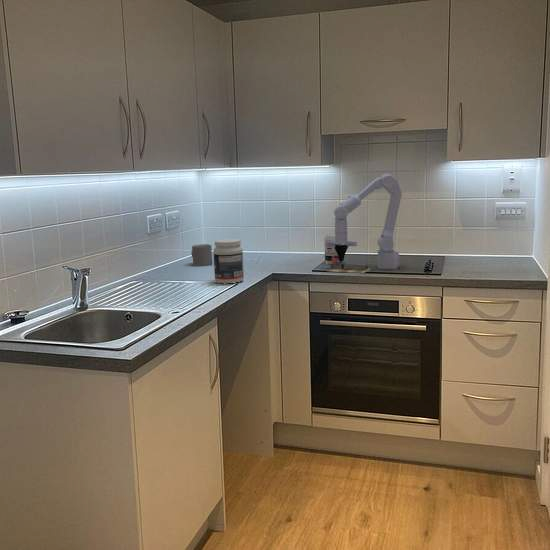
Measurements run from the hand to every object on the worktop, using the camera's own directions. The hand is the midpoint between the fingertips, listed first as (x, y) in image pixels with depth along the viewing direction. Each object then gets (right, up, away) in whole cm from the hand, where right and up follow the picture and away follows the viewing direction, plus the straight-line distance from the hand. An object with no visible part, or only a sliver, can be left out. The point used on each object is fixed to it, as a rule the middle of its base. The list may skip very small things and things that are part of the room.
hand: (341, 261), depth 290 cm
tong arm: (+5, -3, -2) cm, 6 cm away
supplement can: (-2, -2, +16) cm, 17 cm away
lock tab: (-3, -1, +2) cm, 3 cm away
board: (+3, -5, -3) cm, 7 cm away
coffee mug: (-69, -1, +34) cm, 77 cm away
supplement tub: (-51, -10, -15) cm, 54 cm away
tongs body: (+3, -4, -1) cm, 5 cm away
